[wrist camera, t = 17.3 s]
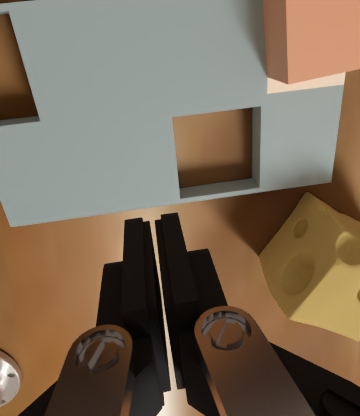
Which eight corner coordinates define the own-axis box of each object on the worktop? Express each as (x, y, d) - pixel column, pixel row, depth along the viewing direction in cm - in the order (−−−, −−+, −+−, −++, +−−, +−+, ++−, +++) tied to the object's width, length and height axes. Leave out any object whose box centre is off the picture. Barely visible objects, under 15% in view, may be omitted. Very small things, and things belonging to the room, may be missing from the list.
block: (267, 77, 29) (288, 84, 25) (261, -20, 25) (285, -30, 22) (346, 59, 29) (379, 64, 25) (351, -39, 26) (390, -52, 22)
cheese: (304, 188, 37) (357, 236, 29) (371, 224, 41) (436, 277, 32) (251, 258, 41) (284, 320, 32) (316, 286, 45) (361, 348, 36)
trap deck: (18, 214, 35) (10, 227, 32) (-56, 12, 26) (-74, 10, 24) (319, 173, 37) (331, 182, 34) (341, -27, 28) (359, -32, 26)
